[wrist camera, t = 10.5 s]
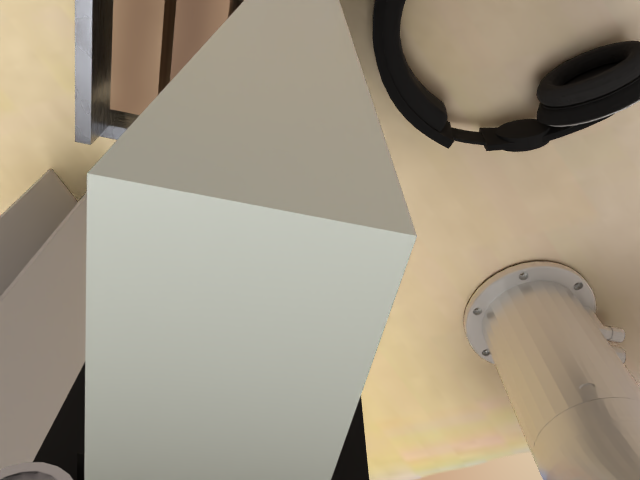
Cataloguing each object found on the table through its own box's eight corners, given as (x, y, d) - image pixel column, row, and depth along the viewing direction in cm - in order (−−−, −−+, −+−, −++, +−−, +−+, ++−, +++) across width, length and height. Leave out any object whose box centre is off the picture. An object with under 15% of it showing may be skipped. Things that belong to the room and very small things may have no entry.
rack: (353, -106, 37) (363, -112, 30) (297, 156, 46) (295, 197, 39) (121, -168, 35) (74, -189, 28) (112, 118, 44) (75, 155, 37)
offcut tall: (253, -71, 38) (238, -68, 30) (229, 99, 44) (212, 138, 36) (209, -82, 37) (183, -82, 30) (191, 91, 43) (165, 129, 35)
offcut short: (195, -85, 37) (171, -86, 31) (179, 88, 43) (156, 118, 37) (150, -96, 37) (116, -100, 30) (140, 80, 43) (110, 109, 36)
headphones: (672, 155, 38) (380, 173, 41) (629, 118, 44) (380, 137, 47) (741, -161, 29) (362, -109, 32) (674, -147, 36) (366, -105, 39)
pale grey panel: (330, -25, 21) (417, 236, 3) (275, 243, 27) (202, 842, 9) (278, -38, 21) (85, 172, 3) (234, 235, 26) (81, 835, 9)
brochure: (48, 169, 46) (-287, 486, 20) (112, 162, 46) (-143, 476, 20) (98, 304, 53) (-103, 666, 27) (154, 299, 53) (5, 660, 27)
